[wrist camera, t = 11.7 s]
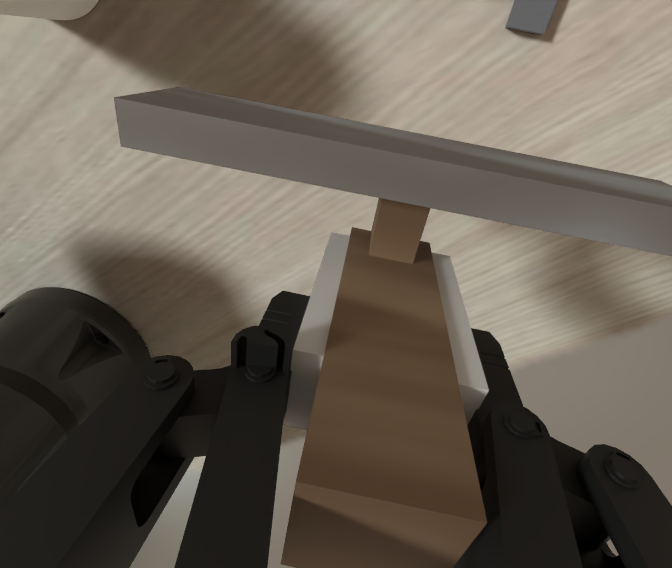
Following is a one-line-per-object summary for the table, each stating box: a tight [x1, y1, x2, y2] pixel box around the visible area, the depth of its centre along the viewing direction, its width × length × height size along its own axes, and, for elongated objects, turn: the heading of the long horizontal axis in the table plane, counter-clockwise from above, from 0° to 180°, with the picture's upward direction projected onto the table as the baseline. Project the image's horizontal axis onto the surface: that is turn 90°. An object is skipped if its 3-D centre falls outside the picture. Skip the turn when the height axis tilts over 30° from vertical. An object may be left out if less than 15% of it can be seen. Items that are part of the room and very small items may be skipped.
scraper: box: [114, 87, 672, 568], centre depth 10 cm, size 7×16×10 cm, turn 81°
